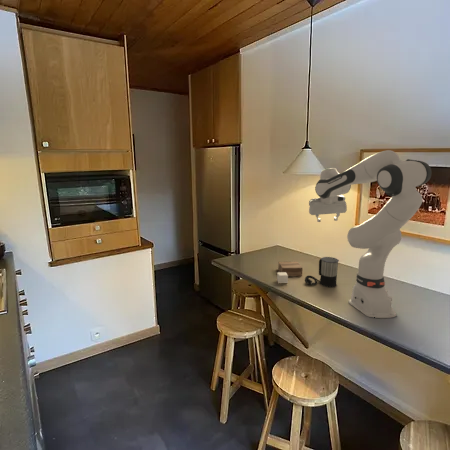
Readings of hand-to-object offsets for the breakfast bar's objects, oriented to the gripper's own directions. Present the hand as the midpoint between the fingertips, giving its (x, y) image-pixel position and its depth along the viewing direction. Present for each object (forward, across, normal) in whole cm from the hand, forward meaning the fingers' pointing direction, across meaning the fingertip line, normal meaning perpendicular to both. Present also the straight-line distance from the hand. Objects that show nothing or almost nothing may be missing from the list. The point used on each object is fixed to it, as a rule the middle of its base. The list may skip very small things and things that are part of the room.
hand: (327, 221), depth 179 cm
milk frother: (+33, -7, -14) cm, 36 cm away
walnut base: (+34, -21, +4) cm, 40 cm away
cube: (+31, -28, -11) cm, 43 cm away
